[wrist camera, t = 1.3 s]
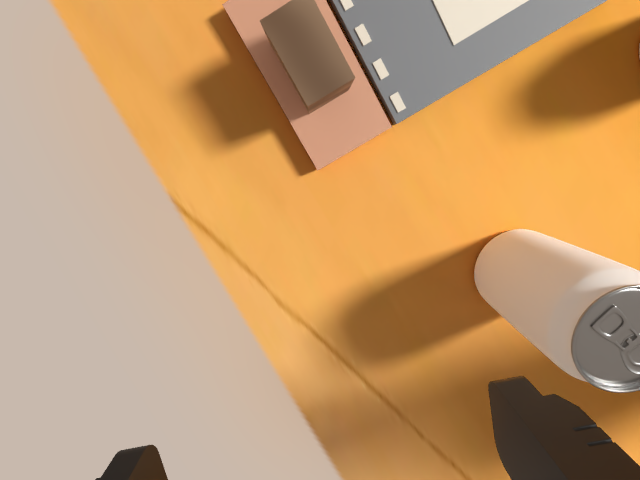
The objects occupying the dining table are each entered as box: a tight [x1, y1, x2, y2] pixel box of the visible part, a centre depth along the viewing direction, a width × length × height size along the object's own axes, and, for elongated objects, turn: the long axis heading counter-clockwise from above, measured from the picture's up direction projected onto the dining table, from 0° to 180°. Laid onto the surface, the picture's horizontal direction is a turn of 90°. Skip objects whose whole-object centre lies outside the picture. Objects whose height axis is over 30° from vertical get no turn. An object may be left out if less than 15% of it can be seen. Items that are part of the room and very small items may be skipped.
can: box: [474, 229, 640, 393], centre depth 26 cm, size 6×6×12 cm
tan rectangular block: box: [222, 0, 392, 170], centre depth 25 cm, size 6×12×6 cm, turn 30°
